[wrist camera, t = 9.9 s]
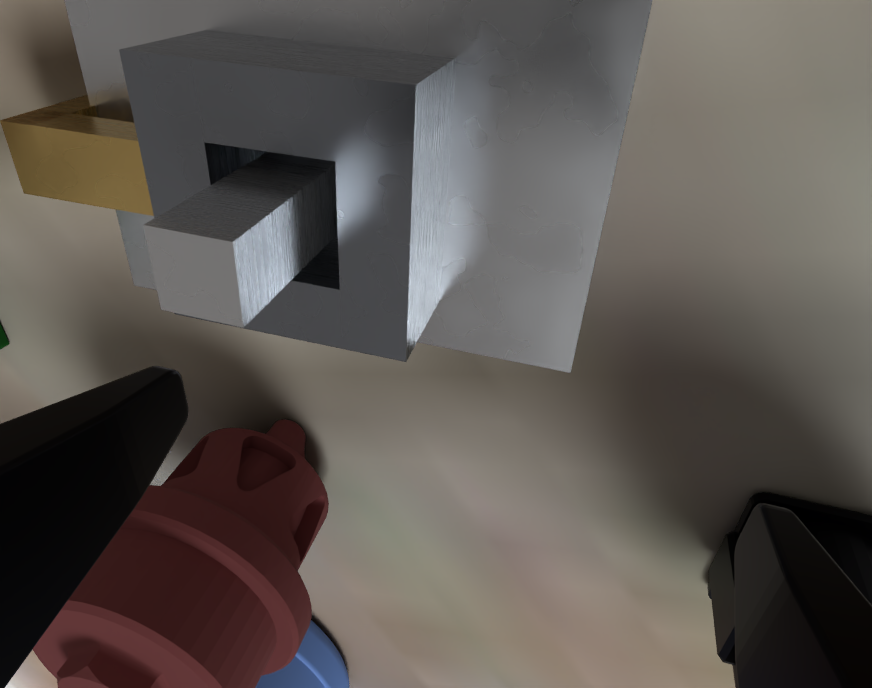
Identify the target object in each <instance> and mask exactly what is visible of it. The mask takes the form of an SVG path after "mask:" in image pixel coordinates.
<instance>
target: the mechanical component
mask: <svg viewBox="0 0 872 688" xmlns="http://www.w3.org/2000/svg"><path fill="white" fill-rule="evenodd" d="M305 440H306V436H305V433H304V431H303V430H302V428H301V427H300V426H299V425H298V424H297V423H295V422H293V421H291V420H285V419H282V420H278V421H276V422H275V423H274V425H273V426H272V427H271V429H270V430H269V431H268V432H267V433H265V434H264V433H261V432H258V431H253V430H249V429H243V428H225V429H218V430H216V431H213V432H210V433H209V434H207V435H206V436H204V437H203V438H202V439H201V440H200V441H199V443H198V444H197V445H196V446H195V447H194V448H193V449H192V451H191V452H190V453H189V454H188V455H187V456H186V457H185V459H184V460H183V461H182V462H181V463H180V464H179V465H178V467H177V468H176V469H175V470H174V471H173V473H172V474H171V475H170V476H169V477H168V479H167V480H166V481H165V482H164V484H162V485H161V486H154V485H149V487H148V488H147V490H146V492H145V493H144V495H143V496H142V498H141V499H140V501H139V502H138V504H137V505H136V507H135V508H134V510H133V511H132V513H131V514H130V515H129V517H128V518H127V519H126V521H125V522H124V524H123V525H122V526H121V528H120V529H119V530H118V532H117V533H116V535H115V536H114V537H113V539H112V540H111V542H110V543H109V544H108V546H107V547H106V548H105V550H104V551H103V553H102V554H101V555H100V557H99V558H98V559H97V561H96V562H95V564H94V565H93V566H92V568H91V569H90V570H89V572H88V573H87V575H86V576H85V577H84V579H83V580H82V582H81V583H80V584H79V586H78V587H77V588H76V590H75V591H74V593H73V594H72V595H71V597H70V598H69V599H68V601H67V602H66V604H65V605H64V606H63V608H62V609H61V611H60V612H59V613H58V615H57V616H56V617H55V619H54V620H53V622H52V623H51V624H50V626H49V627H48V628H47V630H46V631H45V633H44V634H43V635H42V637H41V638H40V640H39V641H38V642H37V644H36V645H35V646H34V648H33V651H34V652H35V654H36V655H37V657H38V658H39V660H40V661H41V662H42V663H43V665H44V666H45V667H46V668H47V669H48V670H49V671H50V672H51V673H52V674H53V675H54V676H55V677H56V678H57V683H58V688H255V687H256V685H257V683H258V681H259V679H260V677H261V676H262V675H266V674H270V673H273V672H276V671H278V670H280V669H282V668H284V667H285V666H287V665H288V664H289V663H290V662H291V661H292V659H293V658H294V657H295V655H296V653H297V651H298V649H299V647H300V645H301V642H302V640H303V638H304V636H305V634H306V632H307V630H308V628H309V625H310V621H311V617H312V614H311V603H310V598H309V595H308V592H307V590H306V587H305V585H304V583H303V581H302V579H301V576H300V575H299V573H298V569H299V567H300V565H301V564H302V562H303V560H304V558H305V556H306V554H307V552H308V550H309V549H310V547H311V545H312V543H313V541H314V539H315V537H316V535H317V534H318V532H319V530H320V528H321V526H322V524H323V522H324V520H325V519H326V516H327V513H328V504H329V503H328V497H327V492H326V490H325V487H324V484H323V483H322V481H321V479H320V477H319V476H318V474H317V473H316V472H315V470H314V469H313V468H312V466H311V465H310V464H309V463H308V462H307V461H306V460H305V451H304V448H305Z"/></svg>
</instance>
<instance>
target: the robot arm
mask: <svg viewBox="0 0 872 688" xmlns="http://www.w3.org/2000/svg"><path fill="white" fill-rule="evenodd" d="M187 417H188V404H187V400H186V395H185V390H184V386H183V381H182V377H181V375H180V374H179V372H178V371H176V370H173V369H169V368H164V367H160V366H152V367H149V368H146V369H144V370H141V371H139V372H136V373H133V374H131V375H128V376H125V377H123V378H120V379H118V380H115V381H112V382H110V383H107V384H104V385H102V386H99V387H96V388H94V389H91V390H89V391H86V392H83V393H81V394H78V395H75V396H73V397H70V398H67V399H65V400H62V401H60V402H57V403H54V404H52V405H49V406H46V407H44V408H41V409H38V410H36V411H33V412H31V413H28V414H25V415H23V416H20V417H17V418H15V419H12V420H10V421H7V422H4V423H2V424H0V688H5V686H6V685H7V684H8V682H9V681H10V680H11V678H12V677H13V675H14V674H15V673H16V671H17V670H18V669H19V667H20V666H21V664H22V663H23V662H24V660H25V659H26V657H27V656H28V655H29V653H30V652H31V651H32V649H33V648H34V646H35V645H36V644H37V642H38V641H39V640H40V638H41V637H42V635H43V634H44V633H45V631H46V630H47V628H48V627H49V626H50V624H51V623H52V622H53V620H54V619H55V617H56V616H57V615H58V613H59V612H60V611H61V609H62V608H63V606H64V605H65V604H66V602H67V601H68V599H69V598H70V597H71V595H72V594H73V593H74V591H75V590H76V588H77V587H78V586H79V584H80V583H81V582H82V580H83V579H84V577H85V576H86V575H87V573H88V572H89V570H90V569H91V568H92V566H93V565H94V564H95V562H96V561H97V559H98V558H99V557H100V555H101V554H102V553H103V551H104V550H105V548H106V547H107V546H108V544H109V543H110V542H111V540H112V539H113V537H114V536H115V535H116V533H117V532H118V530H119V529H120V528H121V526H122V525H123V524H124V522H125V521H126V519H127V518H128V517H129V515H130V514H131V513H132V511H133V510H134V508H135V507H136V505H137V504H138V502H139V501H140V499H141V498H142V496H143V495H144V493H145V492H146V490H147V488H148V487H149V485H150V483H151V482H152V480H153V478H154V476H155V475H156V473H157V471H158V470H159V468H160V466H161V464H162V463H163V461H164V459H165V457H166V456H167V454H168V452H169V450H170V449H171V447H172V445H173V444H174V442H175V440H176V438H177V437H178V435H179V433H180V431H181V430H182V428H183V426H184V425H185V422H186V420H187ZM709 580H710V581H709V584H708V595H709V597H710V599H712V608H713V617H714V627H715V636H716V645H717V654H718V656H719V657H720V659H721V660H722V661H723V662H724V663H728V664H732V665H733V672H734V680H735V687H736V688H872V516H870V515H866V514H861V513H857V512H853V511H848V510H844V509H839V508H835V507H830V506H826V505H821V504H817V503H812V502H808V501H803V500H799V499H794V498H790V497H785V496H781V495H776V494H772V493H766V492H761V493H757V494H755V495H753V496H752V497H751V498H750V500H749V502H748V504H747V506H746V508H745V510H744V512H743V514H742V516H741V518H740V520H739V522H738V525H737V527H736V529H735V531H731V532H729V533H728V534H726V536H725V538H724V540H723V542H722V544H721V546H720V548H719V550H718V553H717V555H716V557H715V559H714V561H713V563H712V565H711V567H710V569H709Z"/></svg>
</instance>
